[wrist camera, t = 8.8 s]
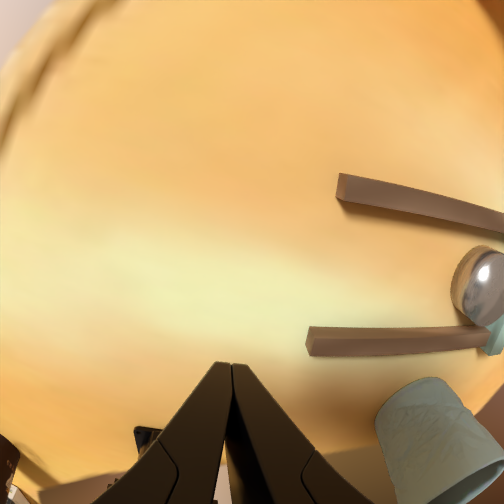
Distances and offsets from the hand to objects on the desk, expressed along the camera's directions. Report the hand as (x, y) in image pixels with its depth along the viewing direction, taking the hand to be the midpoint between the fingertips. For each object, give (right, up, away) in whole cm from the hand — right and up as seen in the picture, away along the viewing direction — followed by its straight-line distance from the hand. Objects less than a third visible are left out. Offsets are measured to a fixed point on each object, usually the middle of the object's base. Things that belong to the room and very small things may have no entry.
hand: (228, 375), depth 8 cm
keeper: (+19, +1, +14) cm, 24 cm away
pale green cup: (+16, -13, +18) cm, 27 cm away
